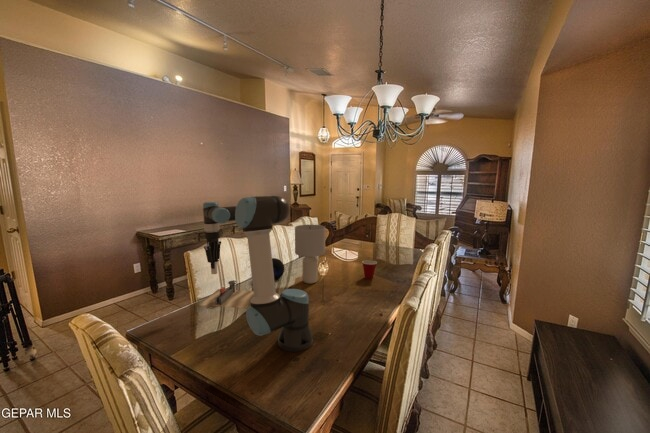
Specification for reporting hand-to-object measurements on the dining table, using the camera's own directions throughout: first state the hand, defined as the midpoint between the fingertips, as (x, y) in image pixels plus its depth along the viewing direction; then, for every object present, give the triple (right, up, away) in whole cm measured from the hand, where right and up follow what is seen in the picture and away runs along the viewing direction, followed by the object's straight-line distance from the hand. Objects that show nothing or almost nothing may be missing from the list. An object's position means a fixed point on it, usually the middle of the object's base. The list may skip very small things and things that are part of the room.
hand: (214, 273), depth 153 cm
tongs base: (+2, -17, +12) cm, 21 cm away
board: (+5, -18, +12) cm, 22 cm away
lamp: (+50, -14, +42) cm, 66 cm away
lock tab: (+1, -13, +9) cm, 16 cm away
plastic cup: (+92, -13, +50) cm, 105 cm away
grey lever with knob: (+3, -16, +12) cm, 21 cm away
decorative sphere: (+24, -13, +45) cm, 53 cm away
